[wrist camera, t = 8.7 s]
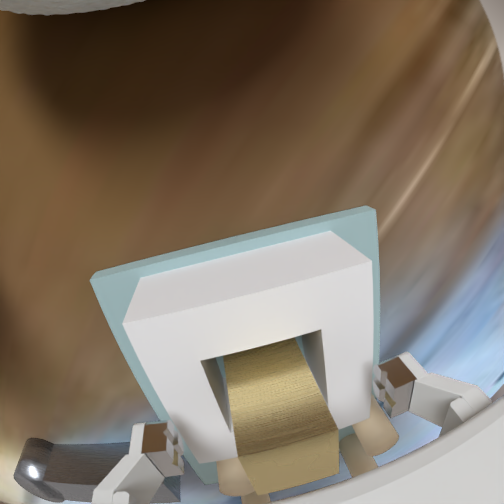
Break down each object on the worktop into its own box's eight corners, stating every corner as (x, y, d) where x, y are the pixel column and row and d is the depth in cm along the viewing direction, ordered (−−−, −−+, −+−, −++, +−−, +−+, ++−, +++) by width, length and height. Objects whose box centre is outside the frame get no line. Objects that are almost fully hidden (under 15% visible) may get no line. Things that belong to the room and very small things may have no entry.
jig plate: (204, 475, 21) (209, 535, 16) (95, 271, 14) (49, 339, 9) (367, 432, 22) (396, 484, 17) (365, 205, 16) (441, 240, 10)
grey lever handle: (45, 467, 19) (36, 499, 16) (16, 436, 18) (3, 470, 14) (183, 464, 20) (184, 505, 17) (160, 432, 19) (158, 478, 15)
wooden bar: (232, 365, 16) (257, 495, 9) (218, 319, 15) (237, 457, 8) (287, 351, 16) (339, 473, 9) (278, 304, 15) (338, 429, 8)
